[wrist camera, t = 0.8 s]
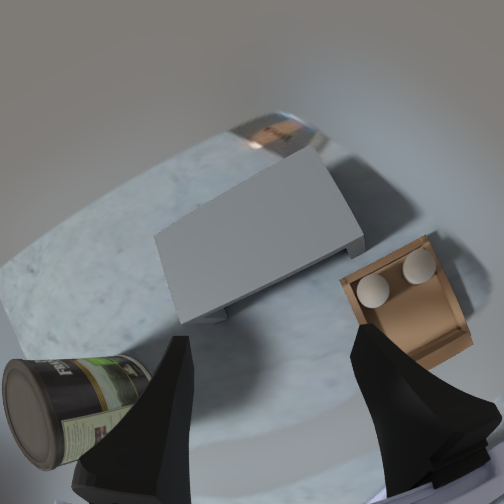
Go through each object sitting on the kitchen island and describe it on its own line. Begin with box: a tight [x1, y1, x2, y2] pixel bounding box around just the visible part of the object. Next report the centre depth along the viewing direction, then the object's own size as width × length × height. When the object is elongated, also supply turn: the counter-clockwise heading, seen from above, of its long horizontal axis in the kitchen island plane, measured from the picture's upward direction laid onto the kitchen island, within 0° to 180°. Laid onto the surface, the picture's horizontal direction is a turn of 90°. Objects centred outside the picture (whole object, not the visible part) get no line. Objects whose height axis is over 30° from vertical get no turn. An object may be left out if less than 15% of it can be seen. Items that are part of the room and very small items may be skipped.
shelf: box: [154, 144, 366, 324], centre depth 26 cm, size 8×15×6 cm, turn 113°
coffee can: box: [2, 355, 152, 471], centre depth 25 cm, size 10×10×14 cm
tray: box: [339, 234, 473, 371], centre depth 21 cm, size 9×8×5 cm
